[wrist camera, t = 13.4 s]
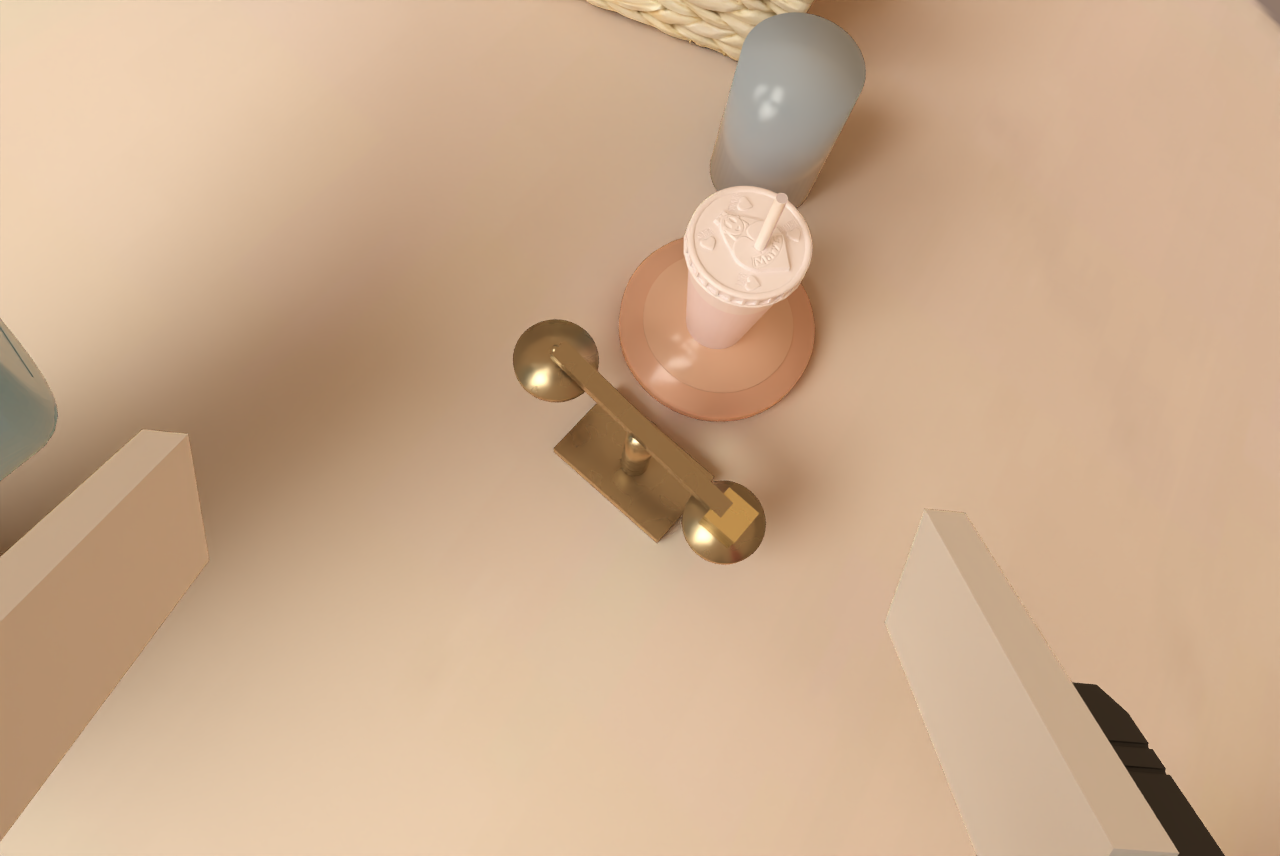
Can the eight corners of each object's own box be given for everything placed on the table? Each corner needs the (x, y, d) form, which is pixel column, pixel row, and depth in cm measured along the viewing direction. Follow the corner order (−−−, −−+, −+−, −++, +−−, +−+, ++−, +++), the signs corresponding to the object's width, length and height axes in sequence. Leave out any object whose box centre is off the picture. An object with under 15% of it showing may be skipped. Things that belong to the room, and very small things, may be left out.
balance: (501, 405, 48) (487, 350, 39) (559, 347, 49) (557, 283, 41) (712, 592, 46) (744, 576, 37) (767, 527, 47) (809, 497, 39)
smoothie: (725, 391, 48) (787, 284, 34) (641, 325, 48) (669, 195, 35) (788, 316, 49) (870, 186, 36) (706, 253, 50) (756, 103, 37)
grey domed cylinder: (688, 171, 53) (714, 63, 44) (753, 108, 55) (792, -9, 46) (769, 237, 52) (814, 142, 43) (833, 170, 54) (890, 64, 45)
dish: (578, 333, 49) (578, 324, 48) (702, 209, 52) (706, 197, 51) (727, 461, 48) (732, 455, 46) (846, 325, 51) (854, 316, 50)
